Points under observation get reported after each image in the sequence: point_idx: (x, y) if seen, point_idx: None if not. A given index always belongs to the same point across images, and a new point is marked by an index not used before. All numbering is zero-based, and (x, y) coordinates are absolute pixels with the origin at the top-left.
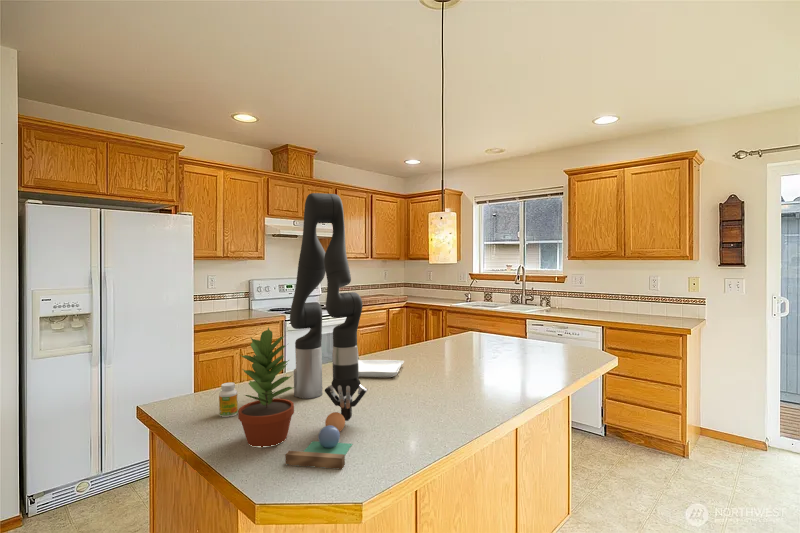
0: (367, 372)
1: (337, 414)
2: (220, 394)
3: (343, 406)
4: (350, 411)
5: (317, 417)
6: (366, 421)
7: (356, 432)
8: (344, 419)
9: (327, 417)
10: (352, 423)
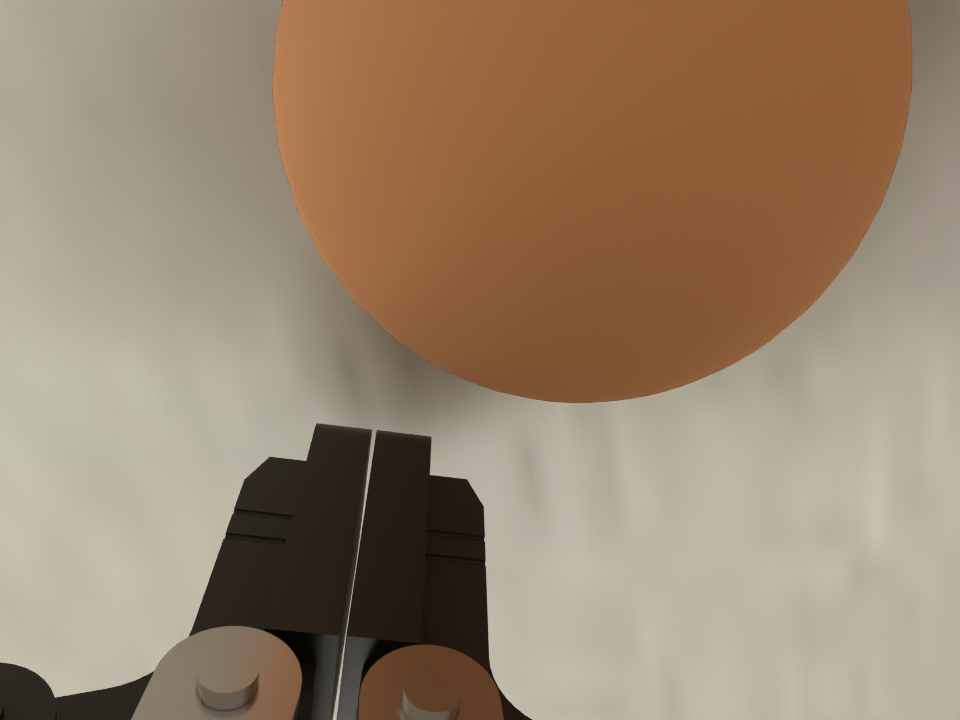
0: None
1: (503, 78)
2: None
3: (393, 692)
4: (207, 585)
5: (945, 697)
6: (42, 560)
7: (46, 36)
8: (279, 136)
9: (894, 53)
10: None
